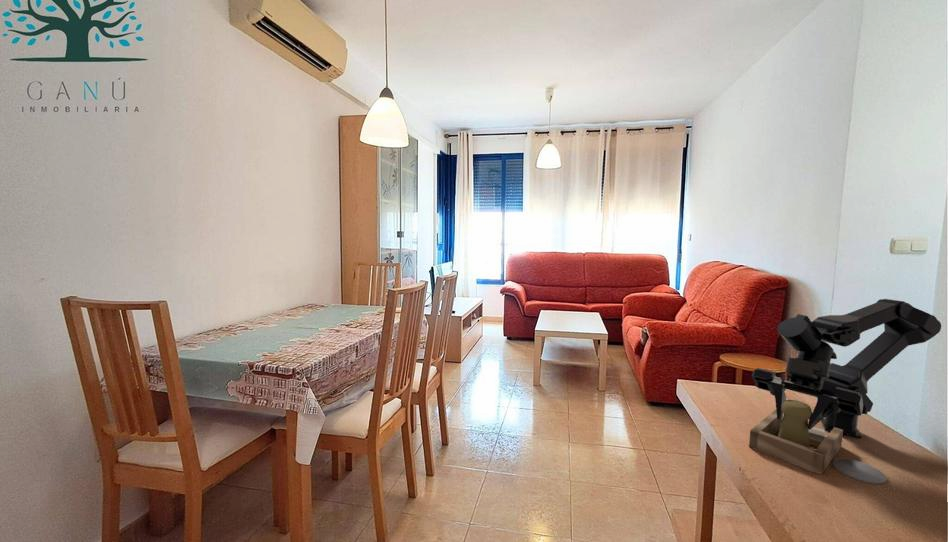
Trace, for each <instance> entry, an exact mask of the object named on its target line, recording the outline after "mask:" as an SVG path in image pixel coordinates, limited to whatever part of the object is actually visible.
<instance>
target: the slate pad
mask: <svg viewBox="0 0 948 542" xmlns="http://www.w3.org/2000/svg"><path fill="white" fill-rule="evenodd" d="M832 462H833V463H832V465H833V467H834V469H836V470H837V471H838V472H839V473H841V474H843V475H845V476H846V477H849V478H850V479H853V480H856V481H858V482H862V483H867V484H872V485H883V484H885V483H887V476H886V475H885V474H884V472H883V471H881V470H879V469H877V468H876V467H874V466H871V465H870V464H867V463H865V462H862V461H858V460H854V459H849V458H844V457H843V458H835V459H834V460H833V461H832Z"/></svg>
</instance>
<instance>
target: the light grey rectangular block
mask: <svg viewBox="0 0 948 542" xmlns="http://www.w3.org/2000/svg"><path fill="white" fill-rule="evenodd" d="M826 437H827V436H825V429H822V428H818V427H815V426H814V427H813V428H812V429H809V442H810V446H811V445H812V446H814V447H816V448H818V446H819V445H820V444H821V443H822V441H823V440H824V439H825V438H826Z"/></svg>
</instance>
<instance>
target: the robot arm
mask: <svg viewBox="0 0 948 542" xmlns="http://www.w3.org/2000/svg"><path fill="white" fill-rule="evenodd" d="M881 325H884V326H883V327H884V331H883V332H882V333H881V334H880V335H878V336H877V337H876V338H875V339H874V340H873V341H871V342H870V343H869V344H867V346H865V347H864V348H863V349H862V350H861V351H860V352H859V353H858V354H856V355H855V356H854V357H853V358H851V360H849V361H848V362H847V363H846V364H844V365H840V364H837V363H834V362H831V361H832V360H837V358H838V357H837V353H835V351H834V348H833V347H832V346H831V345H830V344H832V345H836V346H839V347H844V348H846V347H849V346H851V345H852V344H854V343H856V342H857V341H859V340H860V339H861V334H862V333H863V332H867V331H869V330H872V329H874V328H877V327H880V326H881ZM941 329H942V323H941V321H940V320H938V319H937V316H935V315H934V314H931V313H928V312H926V311H923V310H921V309H919V308H917V307H915V306H913V305H912V304H910V303H908V302H906V301H904V300H897V299H888V298H880V299H878V300H877V301H876V302H875V303H872V304H868V305H866V306H864V307H861V308H859V309H855V310H853V311H851V312H848V313H845V314H839V315H838V314H829V315H828V314H827V315H824V316H823V315H822V316H818V317H816V318H815V319H813V321H811V319H810V317H809V316H808V315H805V314H800V313H797V314H796V316H794V317H790V318H787V319H784V320H783V321H780V323H779V324H778V326H777V333H778V334H779V335H780V336H781V337H782V339H783V340H784V341H785V342H786V343H787V344H788V345H789V346H790V348H792V349H793V350H795V351H797V352H798V353H797V355H796V356H797V357H788V358H787V363H786V366H785V367H786V368H785V372H787V373H786V377H787V378H788V379H789V380H785V379H783V378H781V377H778V376H777V375H776V374H777V373H776V372H775V371H773V370H767V369H764V368H759V367H757V368H755V369H753V371H752V374H751V378H752V380H753V381H752V382H753V383H754V386H755V387H756V388H758V389H760V390H763V391H767V392H769V393H770V395H771V396H774V400H775V410H776V412H777V418H778V419H779V420H780V419H781V417H782V414H783V412H782V410H781V405H782V403H783V402H784V401H785V400H787V395H786V392H785V391H787V390H788V391H792V392H794V393H795V392H797V393H800V394H803V395H804V394H805V395H808V396H811V397H815V398H816V399H817V401H816V404H815V406H814V408H813V411H812V415H811V417H810V419H809V420H808V429H812V428H813V427H814V428H815V426H816V425H817V424H818V423H821V424H822V426H823V430H824V431H827V432H831V430H832V429H833V428H834V427H835V428H839V429H842V430H843V435H846V436H850V437H855V438H860V439H861V438H862V436H863V435H862V434H861V432H860V431H859V429H858V421H859V416H862V415H868V413H871V411H872V408H873V405H874V403H873V401H872V400H871V399H870V398H869V396H868V395H867V394H868V382H869V380H870V379H872V378H873V377H874V376H875V375H876V374H878V373H879V371H881V370H882V369H883V368H884V367H885V366H886V365H887V364H889V363H890V362H891V361H893V359H895V357H897V356H898V355H899V354H900V353H901V352H903V351H904V350H905V349H906V348H908V347H909V346H913V345H917V344H923V343H925V342H927V341H930V340H931V339H933V338H934V337H935V336H936V335H938V334H940V332H941ZM783 415H784V414H783Z"/></svg>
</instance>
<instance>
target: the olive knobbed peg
mask: <svg viewBox="0 0 948 542" xmlns="http://www.w3.org/2000/svg"><path fill="white" fill-rule="evenodd" d="M781 410H782V412H783V419H782V423H781V427H780V429H779V430H778V433H777V434H778V435H777V437H780V438H782V439H785V440H788V441H791V442H794V443H797V444H800V445H802V446H805V447H808V448H811V445H810V442H809V429H808V423H809V419H810V417H811V415H812V413H813V411H812V408H811V407H810V405H808V404H807V403H805V402H803V401H801V400H800V401H799V400H796V399H786V400H785V401H784V402H783V403H782V405H781Z"/></svg>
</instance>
